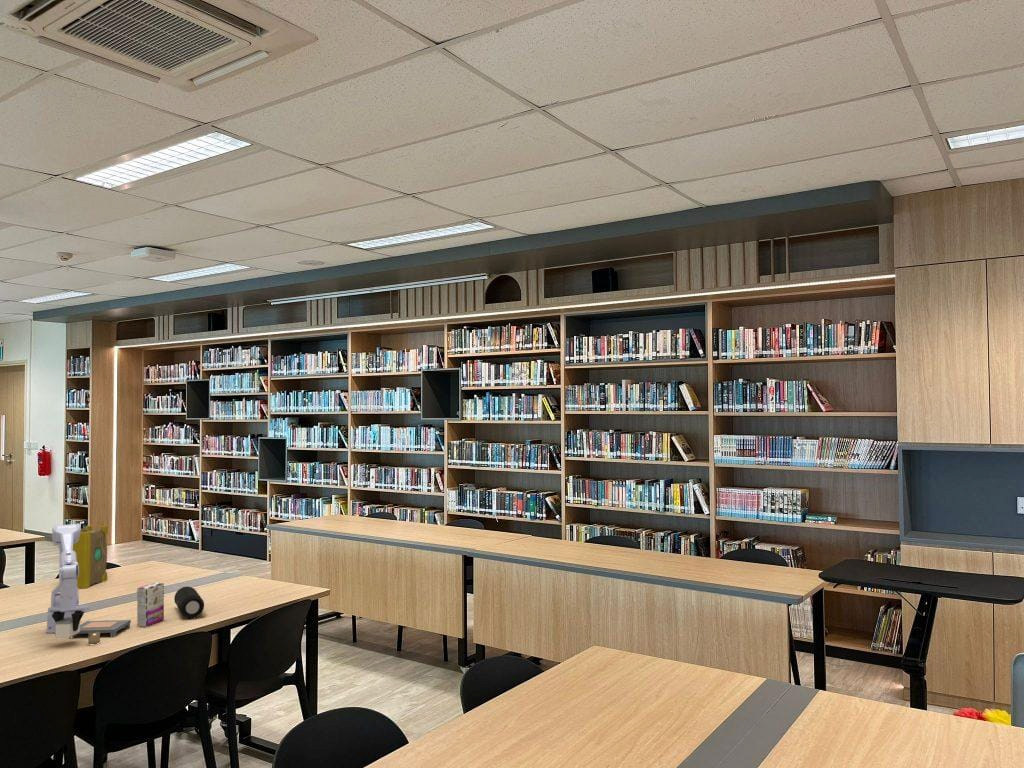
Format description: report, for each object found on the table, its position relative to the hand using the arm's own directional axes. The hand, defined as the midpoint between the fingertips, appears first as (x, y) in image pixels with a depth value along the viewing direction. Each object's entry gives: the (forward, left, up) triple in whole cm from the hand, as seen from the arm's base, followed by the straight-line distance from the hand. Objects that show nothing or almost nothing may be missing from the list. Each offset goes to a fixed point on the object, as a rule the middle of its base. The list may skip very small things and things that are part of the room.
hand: (68, 630), depth 286 cm
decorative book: (-47, +108, -6) cm, 118 cm away
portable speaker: (+30, +43, -6) cm, 53 cm away
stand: (+5, +15, -5) cm, 17 cm away
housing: (0, 0, -2) cm, 2 cm away
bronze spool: (+10, 0, -5) cm, 11 cm away
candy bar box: (+20, +27, -6) cm, 34 cm away
